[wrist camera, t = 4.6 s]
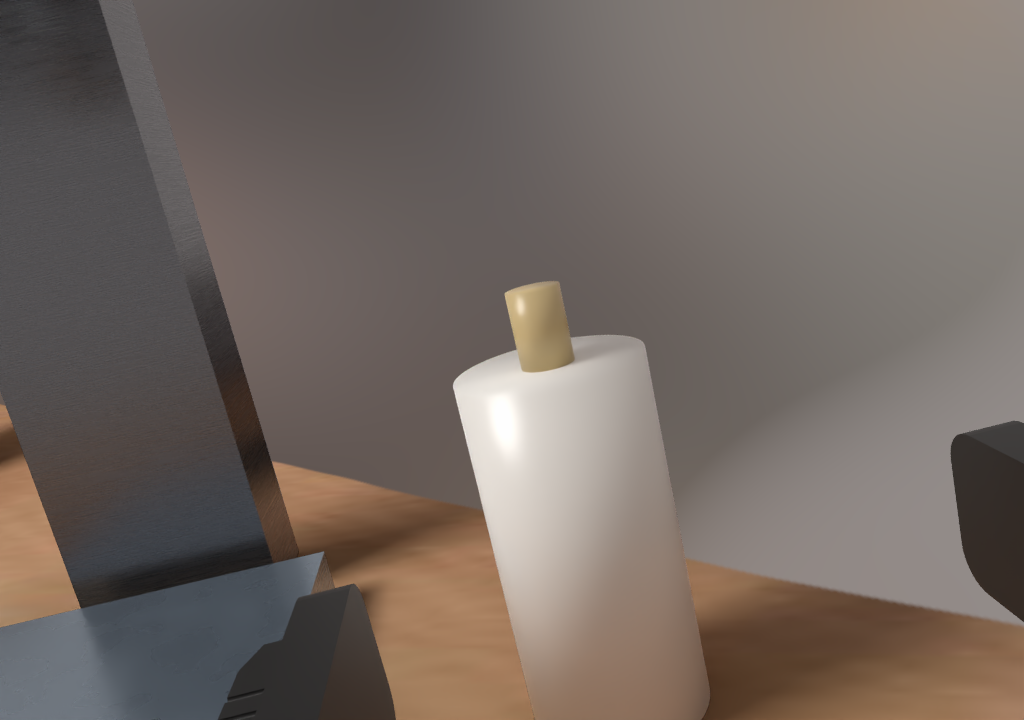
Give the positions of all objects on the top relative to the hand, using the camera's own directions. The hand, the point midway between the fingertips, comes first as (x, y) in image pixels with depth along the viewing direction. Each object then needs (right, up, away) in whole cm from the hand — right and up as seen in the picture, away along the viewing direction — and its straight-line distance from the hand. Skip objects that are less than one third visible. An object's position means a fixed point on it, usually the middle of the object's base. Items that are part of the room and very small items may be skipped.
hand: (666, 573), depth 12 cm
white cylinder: (+1, -7, +13) cm, 15 cm away
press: (-20, -10, +19) cm, 29 cm away
